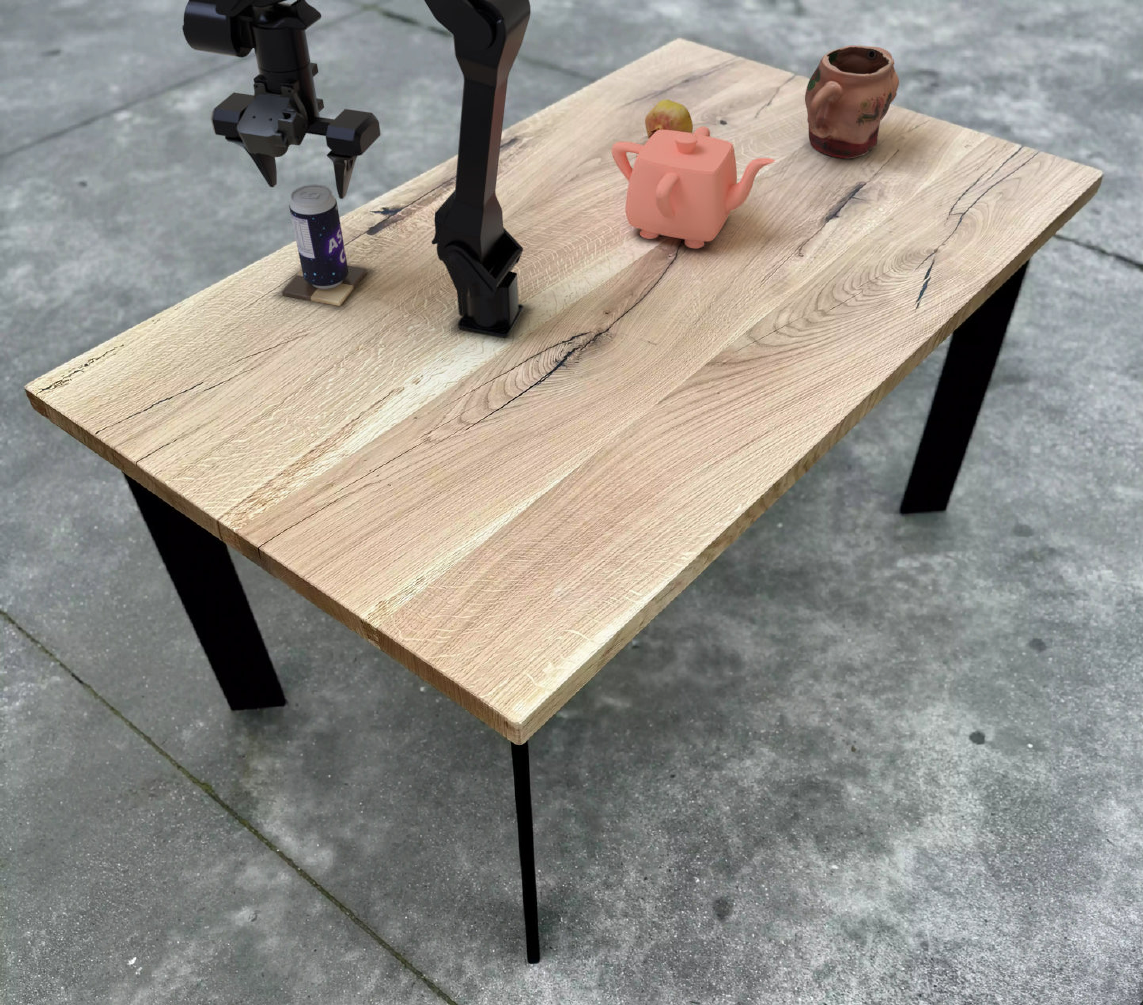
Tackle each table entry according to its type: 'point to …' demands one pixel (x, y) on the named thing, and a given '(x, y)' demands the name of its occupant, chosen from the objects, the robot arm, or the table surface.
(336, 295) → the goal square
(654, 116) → the fruit
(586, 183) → the table surface
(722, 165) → the teapot
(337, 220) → the beverage can
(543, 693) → the table surface
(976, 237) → the table surface
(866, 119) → the decorative planter
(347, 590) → the table surface
